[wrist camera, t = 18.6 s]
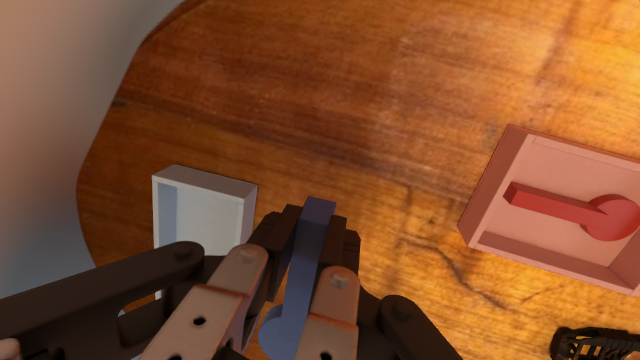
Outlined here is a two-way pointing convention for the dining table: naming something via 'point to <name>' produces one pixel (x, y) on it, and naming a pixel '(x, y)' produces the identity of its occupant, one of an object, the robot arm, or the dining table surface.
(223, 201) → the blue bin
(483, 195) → the rose bin
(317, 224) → the blue spoon
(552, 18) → the dining table surface
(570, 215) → the red spoon
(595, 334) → the knife
